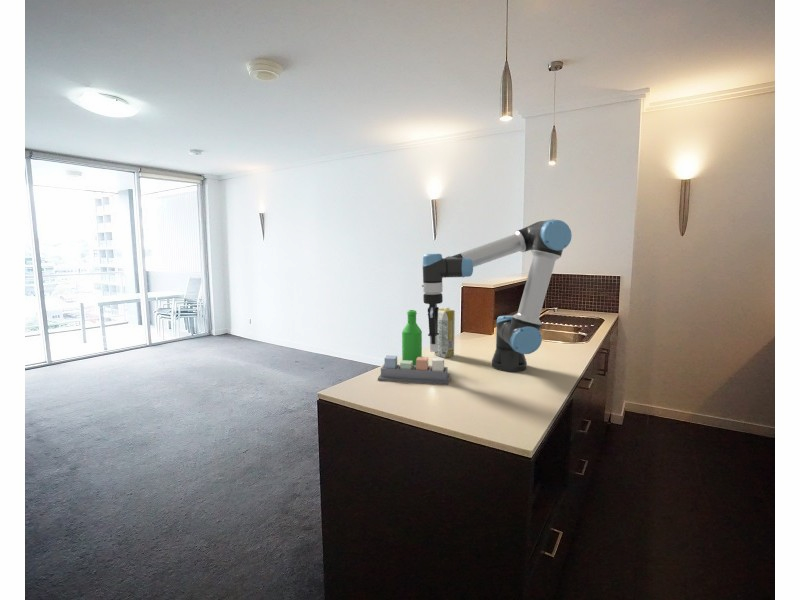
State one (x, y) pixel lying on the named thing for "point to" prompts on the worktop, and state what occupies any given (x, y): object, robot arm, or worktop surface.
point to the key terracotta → (422, 363)
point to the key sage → (406, 364)
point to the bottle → (411, 339)
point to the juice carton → (445, 332)
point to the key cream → (438, 364)
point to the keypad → (414, 375)
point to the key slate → (390, 362)
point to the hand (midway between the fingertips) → (433, 351)
